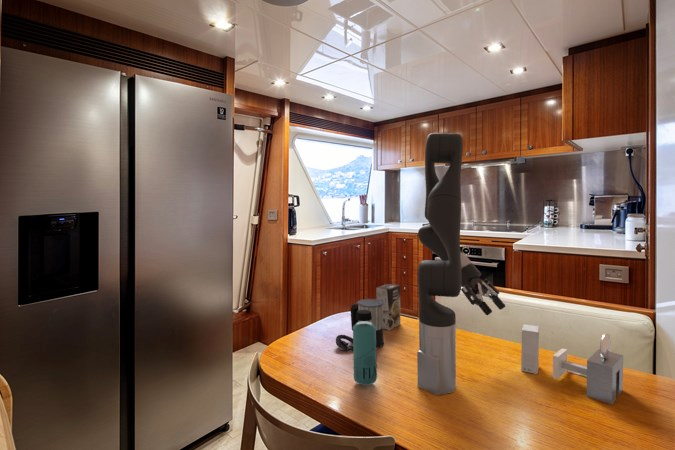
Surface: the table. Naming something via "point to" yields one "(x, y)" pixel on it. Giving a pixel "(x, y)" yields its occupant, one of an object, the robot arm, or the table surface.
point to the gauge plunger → (565, 365)
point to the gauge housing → (604, 373)
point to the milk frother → (376, 320)
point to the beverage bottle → (364, 349)
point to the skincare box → (530, 349)
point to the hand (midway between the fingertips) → (496, 310)
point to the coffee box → (390, 304)
